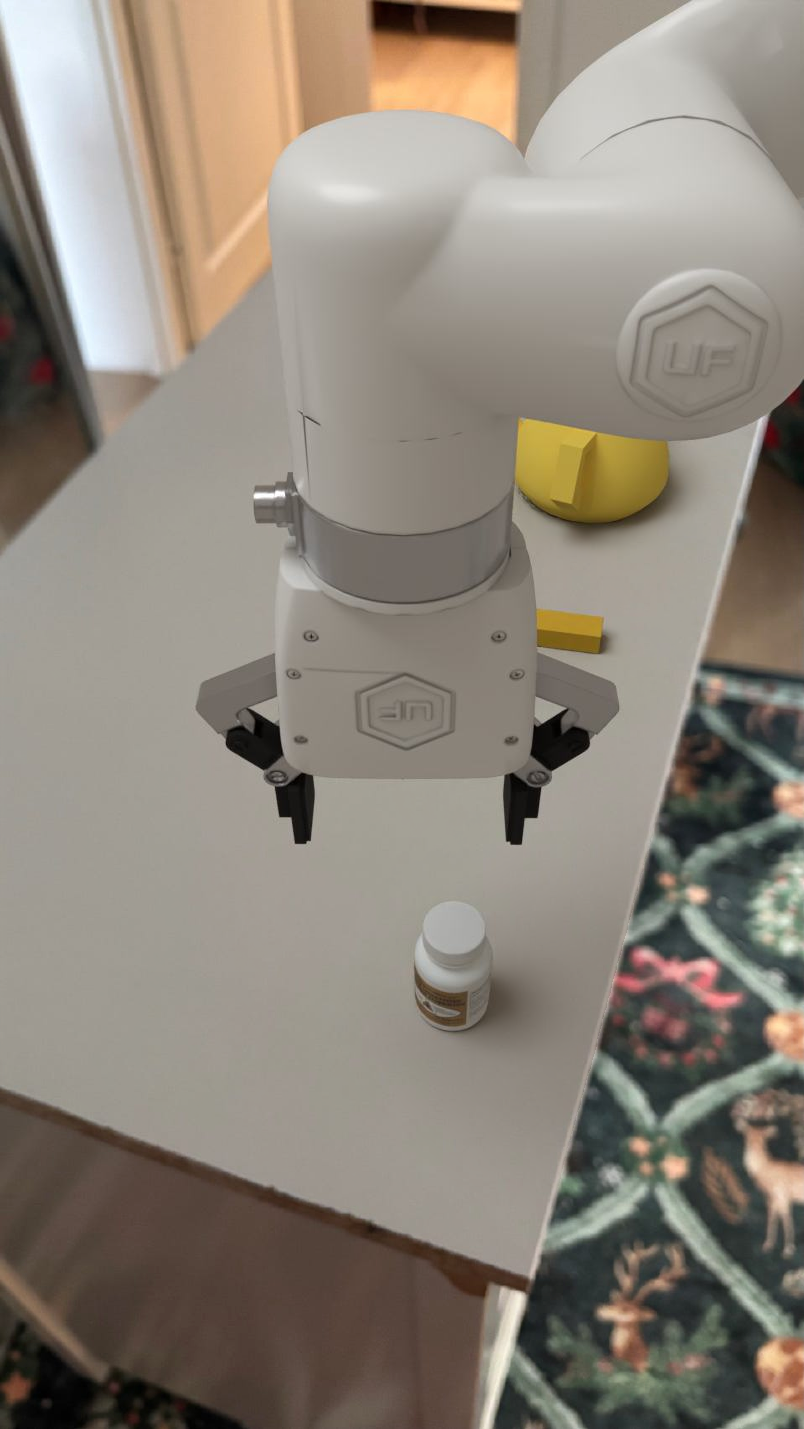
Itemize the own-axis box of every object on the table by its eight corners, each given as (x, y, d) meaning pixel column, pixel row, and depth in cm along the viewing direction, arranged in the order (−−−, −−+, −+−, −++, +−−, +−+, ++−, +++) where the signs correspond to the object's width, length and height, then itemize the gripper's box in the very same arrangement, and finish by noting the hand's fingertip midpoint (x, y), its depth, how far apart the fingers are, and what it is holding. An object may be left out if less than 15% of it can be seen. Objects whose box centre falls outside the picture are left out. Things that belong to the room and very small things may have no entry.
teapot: (503, 411, 110) (509, 307, 102) (683, 445, 105) (704, 338, 97) (437, 521, 97) (438, 411, 89) (639, 564, 92) (659, 452, 84)
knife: (600, 633, 86) (603, 616, 85) (598, 655, 84) (601, 637, 83) (357, 601, 89) (356, 584, 88) (350, 622, 87) (349, 605, 86)
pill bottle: (399, 1005, 63) (397, 933, 58) (443, 953, 66) (445, 879, 60) (460, 1047, 62) (464, 977, 56) (503, 992, 64) (511, 919, 58)
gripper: (139, 583, 35) (212, 886, 48) (668, 583, 35) (604, 888, 47) (176, 457, 41) (233, 759, 53) (637, 456, 40) (586, 760, 53)
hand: (408, 820), depth 50 cm, fingers open, 9 cm apart
